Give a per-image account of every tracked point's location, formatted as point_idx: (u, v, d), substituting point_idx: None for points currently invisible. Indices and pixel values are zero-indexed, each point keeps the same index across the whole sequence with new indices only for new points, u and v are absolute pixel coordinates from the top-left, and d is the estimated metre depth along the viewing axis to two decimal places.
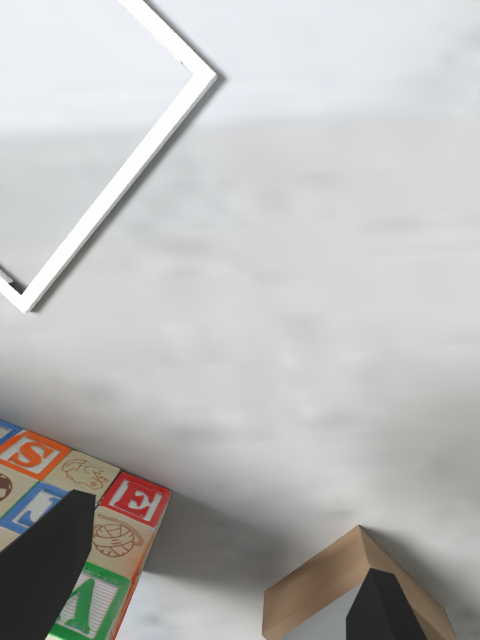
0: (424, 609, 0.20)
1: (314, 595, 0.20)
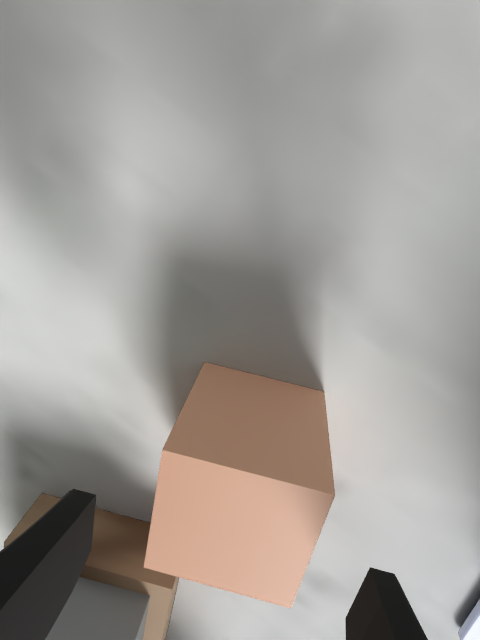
0: None
1: None
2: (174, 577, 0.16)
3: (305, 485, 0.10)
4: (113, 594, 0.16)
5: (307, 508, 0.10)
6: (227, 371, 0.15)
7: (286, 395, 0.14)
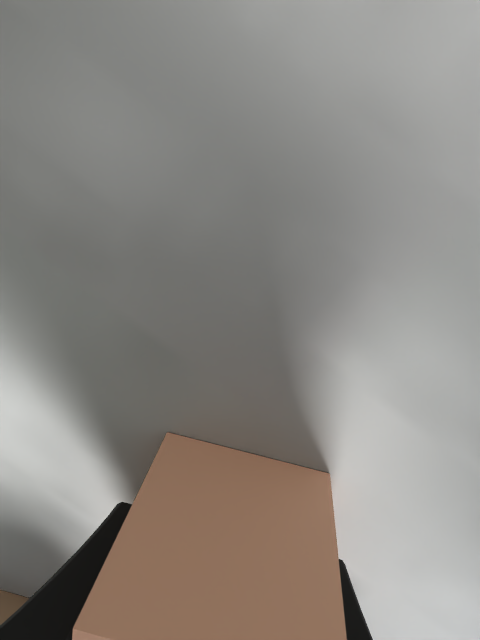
0: None
1: None
2: None
3: None
4: None
5: None
6: (196, 447, 0.11)
7: (277, 487, 0.10)
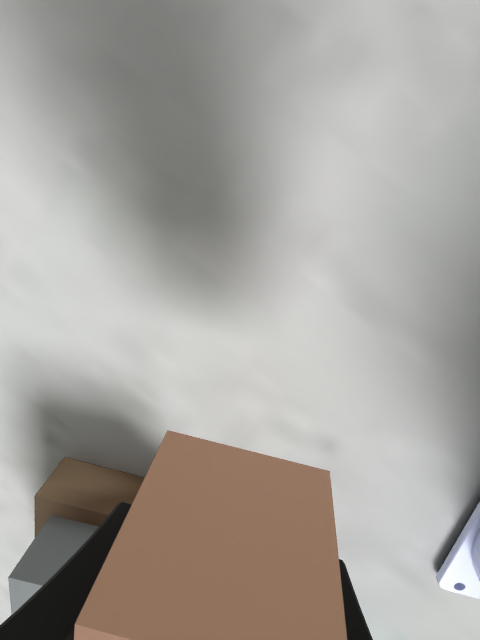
0: None
1: None
2: None
3: None
4: None
5: None
6: (196, 445, 0.11)
7: (277, 484, 0.10)
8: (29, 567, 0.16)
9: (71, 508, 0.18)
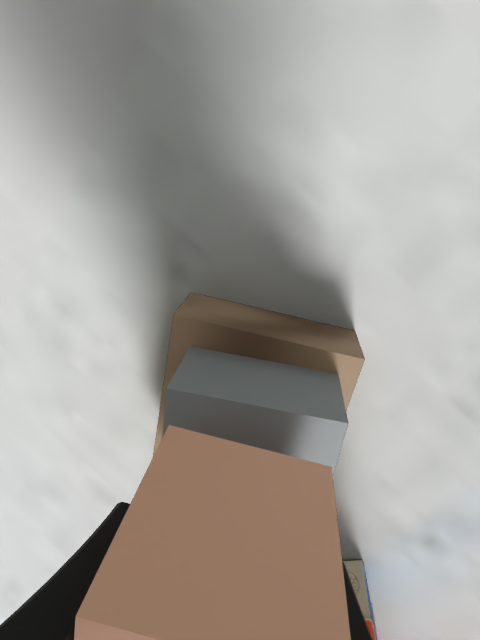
0: None
1: None
2: (361, 353, 0.15)
3: None
4: (300, 370, 0.14)
5: None
6: (198, 440, 0.11)
7: (279, 479, 0.10)
8: (187, 382, 0.13)
9: (219, 329, 0.15)
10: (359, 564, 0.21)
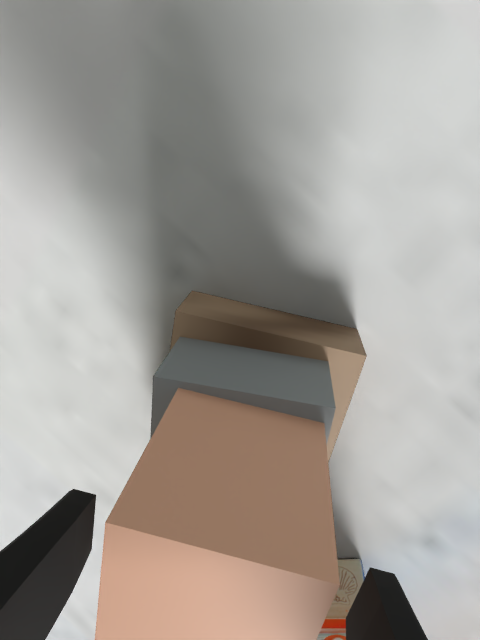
0: None
1: None
2: (363, 349, 0.15)
3: (299, 571, 0.08)
4: (289, 358, 0.14)
5: (303, 601, 0.08)
6: (205, 399, 0.12)
7: (277, 431, 0.11)
8: (175, 370, 0.13)
9: (221, 326, 0.15)
10: (357, 563, 0.21)
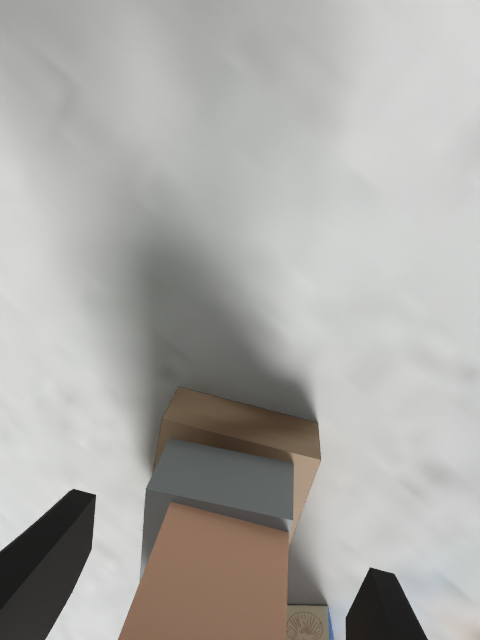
0: None
1: None
2: (319, 452, 0.18)
3: None
4: (261, 461, 0.17)
5: None
6: (192, 513, 0.15)
7: (249, 545, 0.14)
8: (164, 480, 0.15)
9: (200, 432, 0.17)
10: (324, 609, 0.24)
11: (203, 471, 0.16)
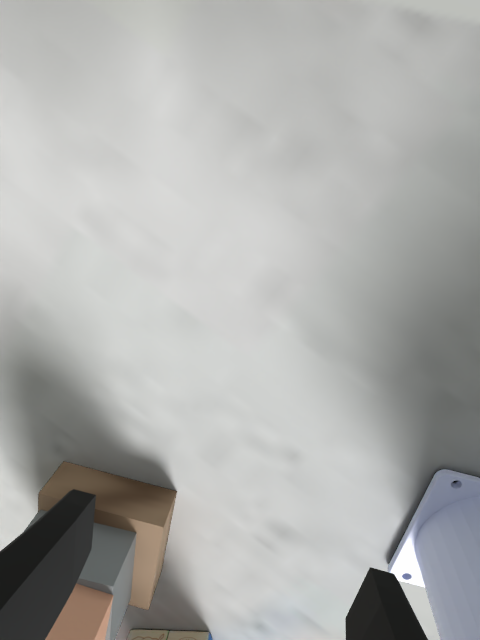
0: None
1: None
2: (165, 519, 0.22)
3: None
4: (109, 531, 0.22)
5: None
6: None
7: (76, 606, 0.18)
8: None
9: None
10: (206, 635, 0.28)
11: None
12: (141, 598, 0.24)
